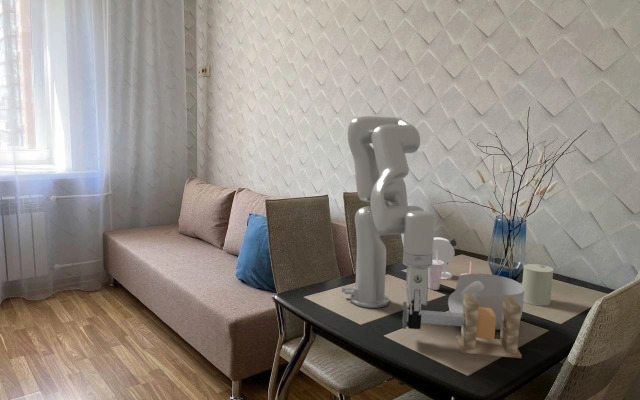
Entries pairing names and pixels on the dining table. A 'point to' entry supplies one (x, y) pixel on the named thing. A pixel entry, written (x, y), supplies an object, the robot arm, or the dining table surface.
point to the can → (537, 284)
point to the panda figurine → (444, 253)
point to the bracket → (491, 346)
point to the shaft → (436, 317)
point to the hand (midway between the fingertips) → (413, 325)
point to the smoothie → (435, 273)
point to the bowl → (486, 293)
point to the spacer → (486, 323)
